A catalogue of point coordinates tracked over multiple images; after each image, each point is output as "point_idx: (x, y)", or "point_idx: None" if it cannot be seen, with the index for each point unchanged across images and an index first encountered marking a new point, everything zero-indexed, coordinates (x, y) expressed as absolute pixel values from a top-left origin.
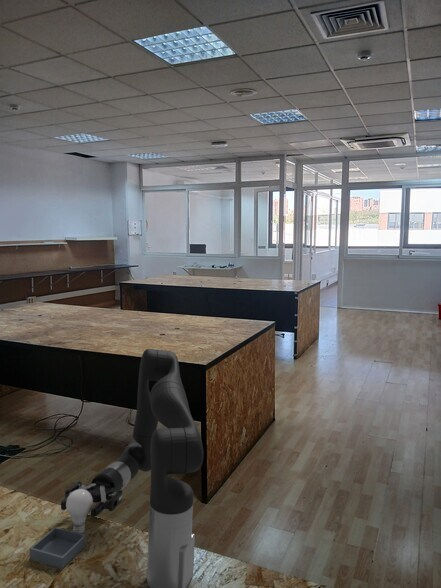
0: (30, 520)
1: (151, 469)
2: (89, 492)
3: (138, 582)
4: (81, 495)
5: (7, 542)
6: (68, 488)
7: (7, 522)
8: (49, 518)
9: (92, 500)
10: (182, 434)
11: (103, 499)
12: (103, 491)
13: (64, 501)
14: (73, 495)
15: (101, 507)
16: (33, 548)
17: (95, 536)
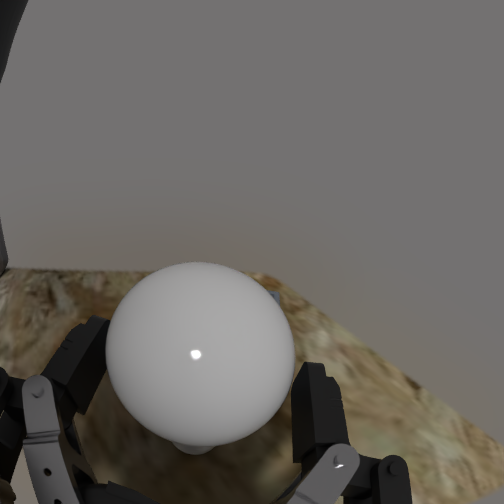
0: (411, 441)
1: (14, 20)
2: (132, 350)
3: (19, 268)
4: (174, 265)
5: (371, 352)
6: (407, 491)
7: (442, 405)
8: None
9: (105, 350)
10: None
11: (38, 392)
12: (47, 491)
13: (310, 366)
14: (235, 270)
15: (56, 357)
16: (270, 293)
17: (116, 422)
